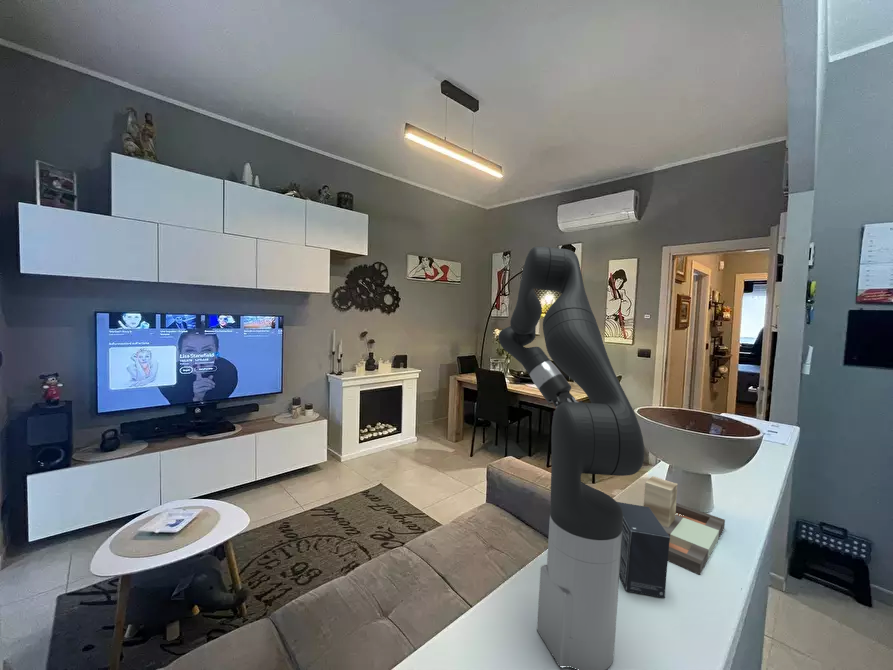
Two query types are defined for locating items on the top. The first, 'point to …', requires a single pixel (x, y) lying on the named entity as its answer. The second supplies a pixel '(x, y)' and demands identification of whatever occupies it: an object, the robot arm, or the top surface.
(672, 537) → the pad
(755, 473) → the top surface
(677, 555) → the board
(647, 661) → the top surface
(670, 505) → the maple block
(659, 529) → the small box
